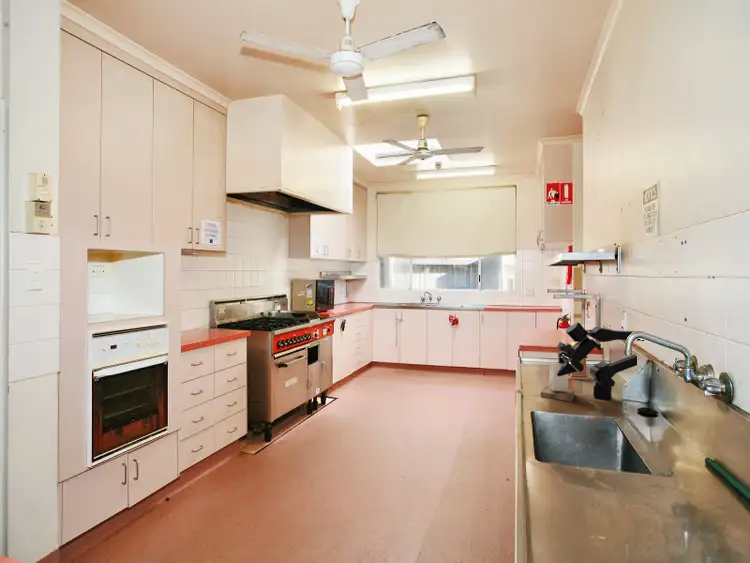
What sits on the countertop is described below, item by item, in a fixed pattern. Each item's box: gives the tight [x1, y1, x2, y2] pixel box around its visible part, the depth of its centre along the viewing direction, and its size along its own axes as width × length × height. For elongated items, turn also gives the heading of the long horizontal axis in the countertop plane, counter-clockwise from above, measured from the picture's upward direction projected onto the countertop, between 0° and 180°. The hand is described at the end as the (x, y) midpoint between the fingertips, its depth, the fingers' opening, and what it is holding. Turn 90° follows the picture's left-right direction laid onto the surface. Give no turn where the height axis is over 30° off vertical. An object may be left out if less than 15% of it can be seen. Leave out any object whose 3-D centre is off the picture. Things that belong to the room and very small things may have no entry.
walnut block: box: [540, 385, 576, 402], centre depth 192 cm, size 12×12×2 cm
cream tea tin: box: [548, 362, 569, 392], centre depth 192 cm, size 6×6×11 cm
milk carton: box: [568, 339, 589, 380], centre depth 228 cm, size 9×9×20 cm
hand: (555, 374), depth 192 cm, fingers closed on cream tea tin, 6 cm apart
